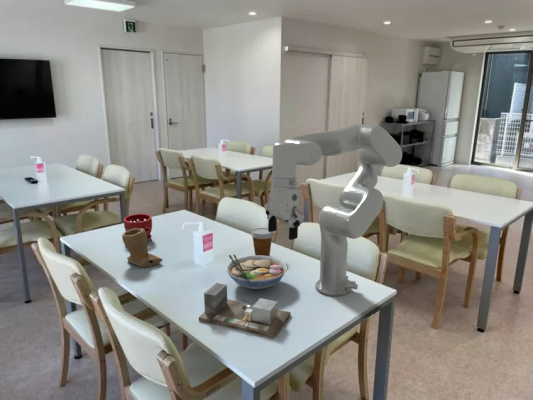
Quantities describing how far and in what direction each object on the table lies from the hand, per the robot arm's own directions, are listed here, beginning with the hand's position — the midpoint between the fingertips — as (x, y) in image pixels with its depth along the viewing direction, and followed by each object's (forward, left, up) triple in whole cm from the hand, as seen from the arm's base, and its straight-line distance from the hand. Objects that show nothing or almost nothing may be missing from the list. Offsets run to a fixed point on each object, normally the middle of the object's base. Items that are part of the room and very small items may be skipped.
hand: (282, 234), depth 131 cm
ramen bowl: (+15, -13, -27) cm, 33 cm away
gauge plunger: (+4, +10, -25) cm, 27 cm away
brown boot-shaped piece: (+69, -13, -27) cm, 75 cm away
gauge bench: (+9, +10, -26) cm, 29 cm away
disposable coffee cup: (+24, -39, -26) cm, 53 cm away
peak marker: (+6, +14, -25) cm, 29 cm away
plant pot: (+88, -35, -27) cm, 98 cm away
